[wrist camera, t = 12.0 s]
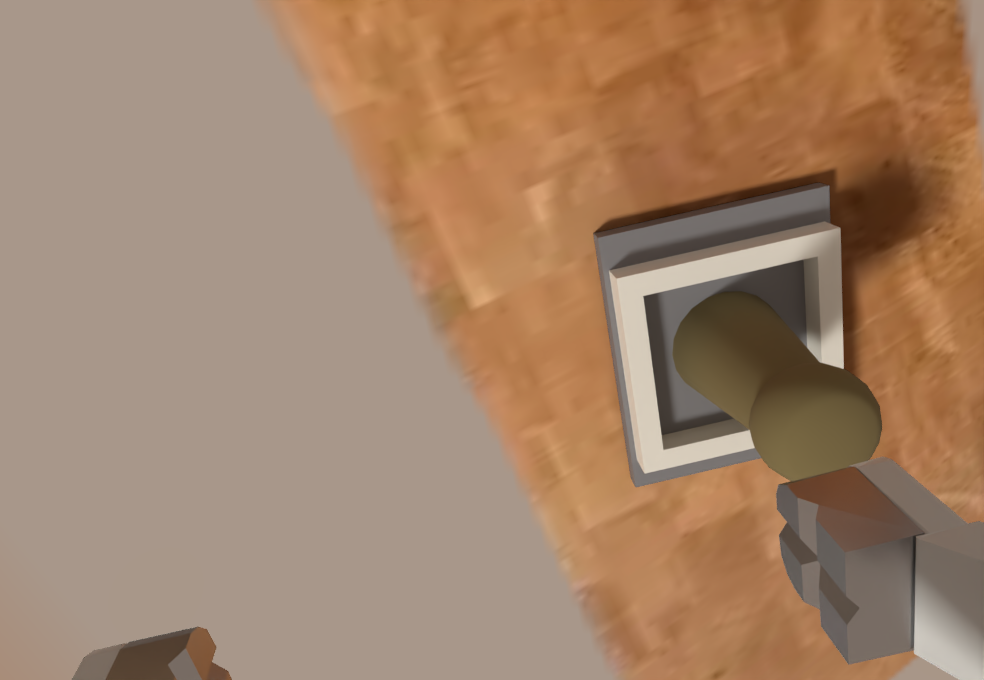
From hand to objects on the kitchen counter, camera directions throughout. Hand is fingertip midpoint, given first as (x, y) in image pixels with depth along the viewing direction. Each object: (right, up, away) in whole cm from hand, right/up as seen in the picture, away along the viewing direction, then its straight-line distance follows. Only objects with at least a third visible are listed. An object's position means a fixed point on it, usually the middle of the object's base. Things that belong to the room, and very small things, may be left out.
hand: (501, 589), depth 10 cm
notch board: (+12, +3, +30) cm, 33 cm away
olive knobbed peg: (+12, +3, +30) cm, 32 cm away
